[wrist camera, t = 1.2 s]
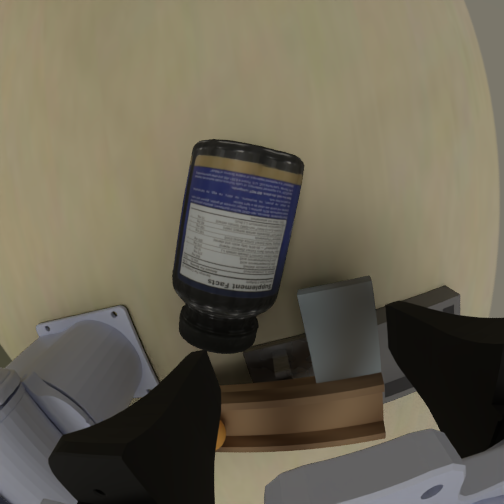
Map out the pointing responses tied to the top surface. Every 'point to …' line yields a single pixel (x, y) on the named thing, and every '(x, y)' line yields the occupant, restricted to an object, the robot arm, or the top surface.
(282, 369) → the fulcrum
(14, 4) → the top surface
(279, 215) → the pill bottle
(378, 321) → the tray
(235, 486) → the top surface
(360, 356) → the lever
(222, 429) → the ball
